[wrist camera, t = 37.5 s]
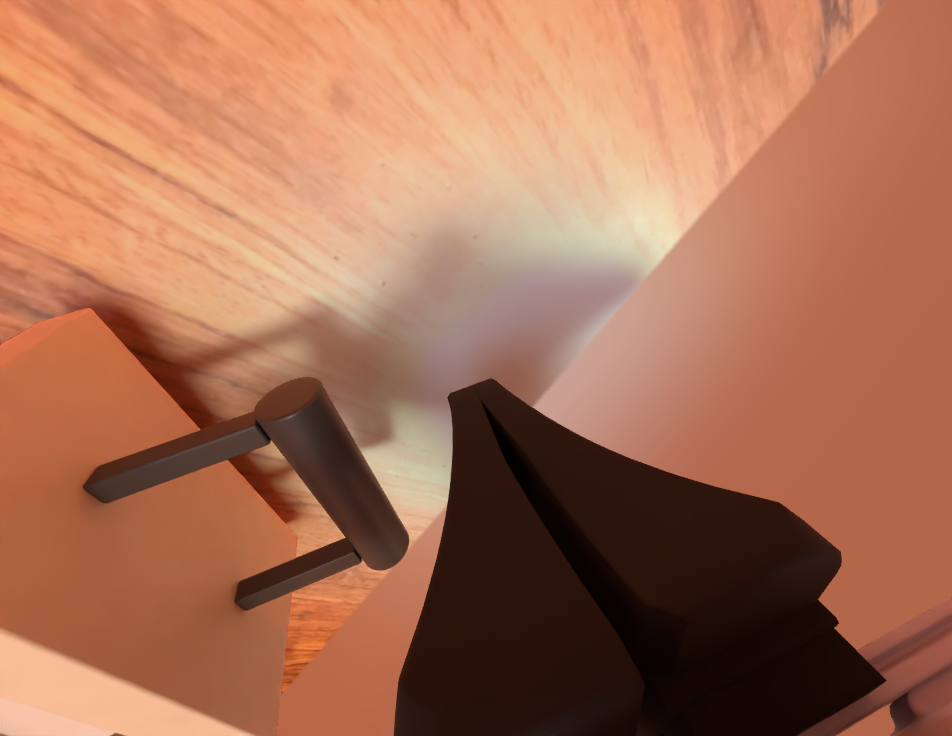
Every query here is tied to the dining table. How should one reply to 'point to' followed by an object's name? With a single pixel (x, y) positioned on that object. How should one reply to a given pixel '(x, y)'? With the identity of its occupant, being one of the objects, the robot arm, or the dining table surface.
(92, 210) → the dining table surface
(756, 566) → the robot arm
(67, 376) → the drawer
